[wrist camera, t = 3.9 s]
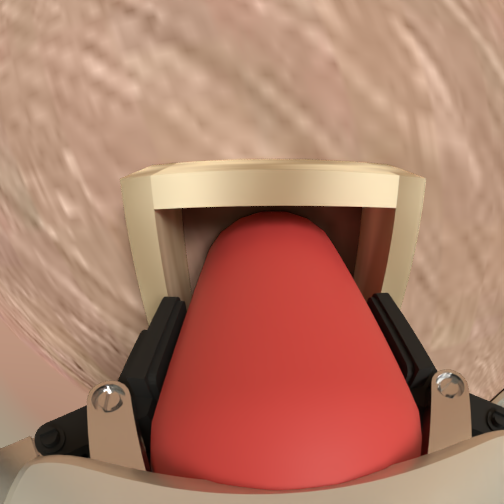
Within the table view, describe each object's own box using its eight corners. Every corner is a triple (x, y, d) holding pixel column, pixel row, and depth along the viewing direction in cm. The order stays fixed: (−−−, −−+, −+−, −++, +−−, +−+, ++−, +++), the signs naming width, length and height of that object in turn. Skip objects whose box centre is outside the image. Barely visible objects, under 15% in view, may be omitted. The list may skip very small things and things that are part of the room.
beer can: (317, 327, 16) (361, 535, 5) (203, 314, 16) (153, 534, 5) (350, 219, 13) (512, 445, 2) (212, 197, 13) (74, 471, 2)
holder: (388, 164, 12) (426, 178, 9) (357, 345, 16) (372, 386, 13) (152, 165, 12) (119, 178, 9) (182, 348, 17) (169, 390, 14)
